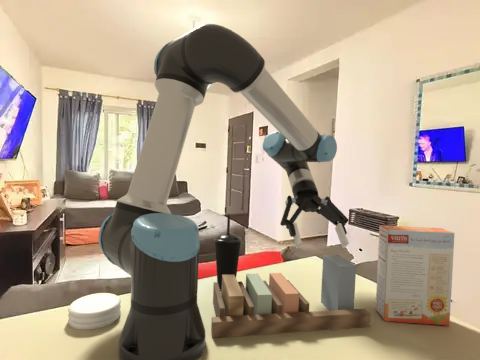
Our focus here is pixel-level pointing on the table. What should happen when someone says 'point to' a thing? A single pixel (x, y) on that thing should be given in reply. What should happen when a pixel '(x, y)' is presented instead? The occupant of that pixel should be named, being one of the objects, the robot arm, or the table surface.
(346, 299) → the slate blue block
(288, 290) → the terracotta offcut
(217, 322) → the rack
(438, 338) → the table surface
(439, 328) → the table surface
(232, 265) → the drinking cup
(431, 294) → the cracker box
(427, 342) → the table surface
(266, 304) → the sage offcut
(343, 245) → the robot arm
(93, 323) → the white disc stack
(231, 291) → the oak offcut
